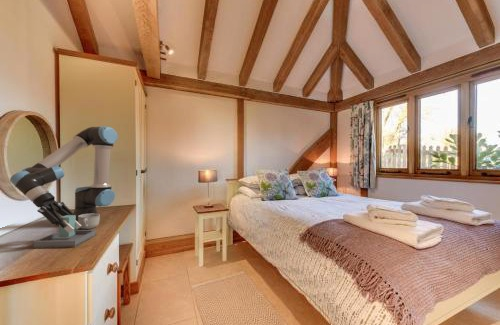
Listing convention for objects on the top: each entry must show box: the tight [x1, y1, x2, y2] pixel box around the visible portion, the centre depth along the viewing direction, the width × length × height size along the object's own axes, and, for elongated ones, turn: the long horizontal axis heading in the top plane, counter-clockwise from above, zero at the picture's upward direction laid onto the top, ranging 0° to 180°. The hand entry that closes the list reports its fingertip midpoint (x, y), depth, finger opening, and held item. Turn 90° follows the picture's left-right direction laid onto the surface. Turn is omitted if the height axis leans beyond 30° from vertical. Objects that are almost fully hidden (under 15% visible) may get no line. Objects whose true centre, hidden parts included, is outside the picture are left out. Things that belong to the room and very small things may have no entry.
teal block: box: [58, 215, 76, 237], centre depth 105 cm, size 4×4×10 cm
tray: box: [33, 229, 97, 249], centre depth 105 cm, size 16×18×3 cm
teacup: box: [78, 213, 101, 230], centre depth 125 cm, size 14×11×8 cm
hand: (75, 229), depth 106 cm, fingers closed on teal block, 4 cm apart
